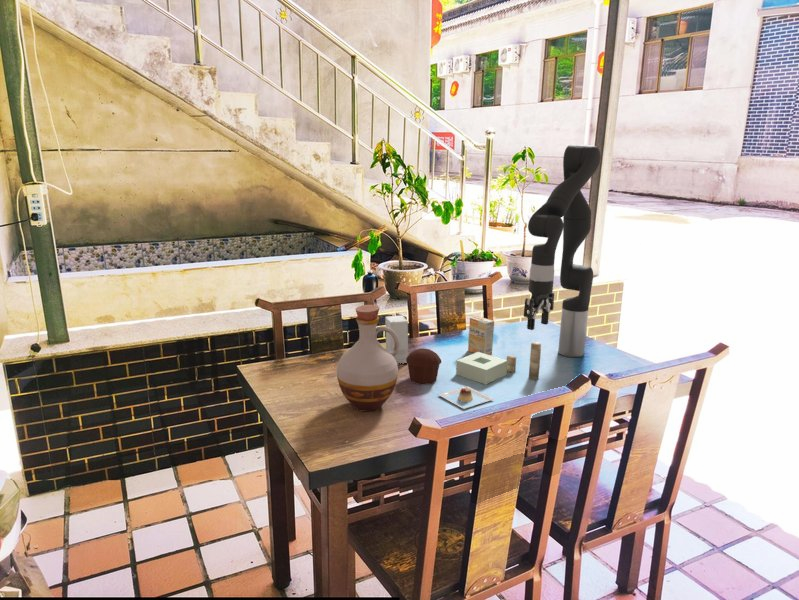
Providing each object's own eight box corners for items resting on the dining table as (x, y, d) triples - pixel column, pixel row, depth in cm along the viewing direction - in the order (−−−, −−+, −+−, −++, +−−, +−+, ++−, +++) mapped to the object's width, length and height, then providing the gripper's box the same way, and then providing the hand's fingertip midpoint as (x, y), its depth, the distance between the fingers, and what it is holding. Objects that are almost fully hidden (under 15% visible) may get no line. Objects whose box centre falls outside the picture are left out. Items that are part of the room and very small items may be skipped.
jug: (382, 387, 190) (383, 295, 182) (414, 408, 175) (416, 309, 167) (326, 401, 179) (324, 304, 172) (355, 424, 165) (354, 320, 157)
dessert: (437, 397, 184) (438, 383, 183) (466, 389, 191) (467, 375, 190) (463, 412, 175) (464, 397, 173) (493, 402, 181) (494, 387, 180)
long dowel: (531, 375, 201) (534, 341, 198) (540, 378, 199) (543, 343, 196) (526, 377, 199) (529, 343, 196) (535, 380, 197) (537, 346, 194)
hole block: (477, 365, 210) (478, 351, 208) (506, 374, 202) (507, 360, 200) (456, 374, 201) (456, 360, 200) (485, 384, 193) (486, 369, 192)
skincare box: (408, 364, 210) (409, 321, 206) (389, 365, 208) (390, 322, 204) (402, 355, 218) (403, 314, 214) (384, 357, 216) (384, 315, 212)
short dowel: (509, 368, 207) (510, 354, 206) (517, 370, 205) (518, 357, 204) (504, 370, 205) (504, 356, 204) (511, 373, 203) (512, 359, 202)
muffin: (398, 379, 196) (399, 350, 193) (418, 370, 205) (419, 342, 202) (428, 389, 189) (429, 359, 186) (447, 378, 198) (448, 350, 195)
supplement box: (467, 351, 224) (468, 317, 220) (476, 348, 227) (477, 315, 223) (483, 357, 217) (485, 322, 214) (492, 354, 221) (494, 320, 217)
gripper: (542, 272, 198) (538, 320, 202) (519, 279, 188) (515, 328, 192) (563, 276, 193) (559, 324, 197) (540, 283, 183) (536, 334, 187)
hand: (537, 326), depth 195 cm, fingers open, 8 cm apart
